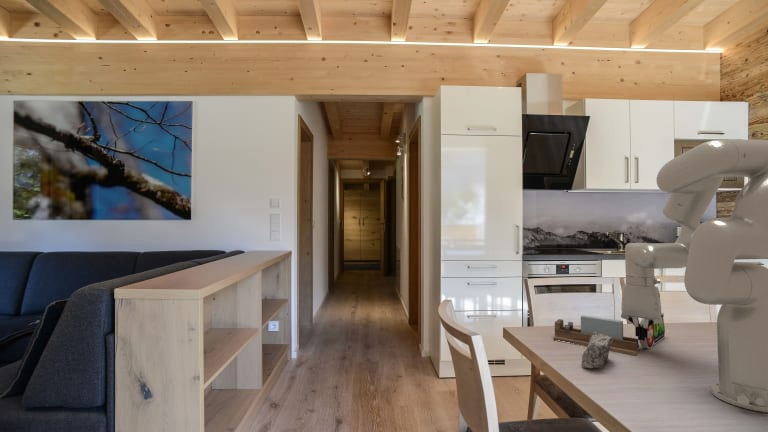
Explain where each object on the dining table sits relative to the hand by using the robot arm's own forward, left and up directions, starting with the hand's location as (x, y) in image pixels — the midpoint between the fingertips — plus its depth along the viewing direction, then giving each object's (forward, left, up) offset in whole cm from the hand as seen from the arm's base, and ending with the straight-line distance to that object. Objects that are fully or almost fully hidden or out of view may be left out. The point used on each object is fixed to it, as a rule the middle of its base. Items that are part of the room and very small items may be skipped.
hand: (641, 339), depth 113 cm
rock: (-20, +9, -5) cm, 22 cm away
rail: (0, +13, -4) cm, 14 cm away
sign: (+13, -2, -5) cm, 14 cm away
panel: (0, +11, -3) cm, 11 cm away
